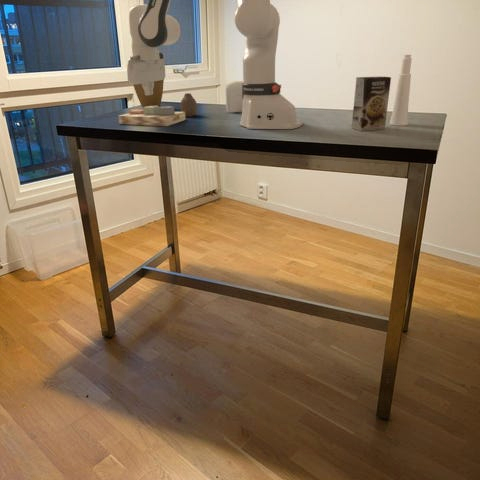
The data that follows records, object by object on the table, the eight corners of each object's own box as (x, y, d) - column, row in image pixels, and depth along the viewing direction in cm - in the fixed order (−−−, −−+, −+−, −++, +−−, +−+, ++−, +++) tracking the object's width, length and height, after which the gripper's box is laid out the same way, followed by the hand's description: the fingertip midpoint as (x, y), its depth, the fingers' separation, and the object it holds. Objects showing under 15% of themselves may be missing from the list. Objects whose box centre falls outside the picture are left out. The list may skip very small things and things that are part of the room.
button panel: (185, 119, 167) (184, 111, 166) (167, 126, 156) (166, 117, 154) (140, 117, 175) (139, 110, 173) (119, 123, 163) (118, 115, 162)
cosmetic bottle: (398, 126, 143) (407, 55, 133) (385, 123, 148) (393, 55, 138) (411, 124, 145) (421, 54, 136) (398, 122, 150) (407, 54, 141)
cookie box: (361, 131, 137) (366, 78, 130) (351, 128, 143) (355, 76, 136) (385, 129, 139) (392, 76, 133) (374, 125, 145) (380, 75, 138)
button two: (174, 114, 163) (173, 106, 161) (168, 116, 159) (168, 107, 158) (164, 114, 164) (163, 105, 163) (158, 116, 161) (157, 107, 159)
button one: (146, 117, 168) (145, 109, 167) (140, 119, 164) (139, 111, 163) (137, 117, 169) (136, 109, 168) (130, 119, 166) (129, 110, 164)
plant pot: (145, 106, 205) (141, 70, 198) (172, 107, 200) (169, 70, 193) (128, 111, 192) (123, 73, 185) (157, 112, 187) (153, 73, 181)
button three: (160, 114, 165) (159, 105, 164) (154, 116, 161) (153, 107, 160) (150, 113, 167) (149, 105, 165) (144, 115, 163) (143, 107, 162)
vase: (195, 117, 172) (193, 94, 168) (178, 117, 173) (176, 94, 170) (199, 114, 178) (198, 92, 174) (184, 114, 180) (182, 92, 176)
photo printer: (228, 113, 179) (226, 82, 173) (225, 112, 182) (223, 81, 177) (251, 111, 181) (250, 80, 176) (247, 110, 185) (247, 80, 180)
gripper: (135, 56, 145) (140, 98, 151) (166, 54, 162) (169, 92, 168) (120, 56, 147) (125, 98, 153) (152, 54, 164) (156, 91, 170)
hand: (149, 95), depth 161 cm, fingers closed
